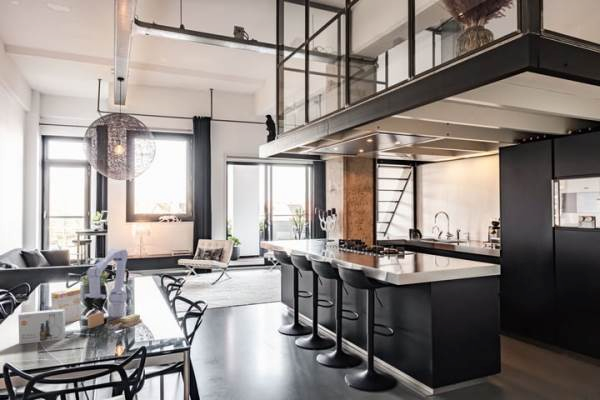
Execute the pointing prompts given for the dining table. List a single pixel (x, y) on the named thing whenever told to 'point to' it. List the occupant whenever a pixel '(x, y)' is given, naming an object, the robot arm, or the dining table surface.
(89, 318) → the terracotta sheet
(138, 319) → the plywood offcut stack
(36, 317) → the skincare box
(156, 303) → the dining table surface
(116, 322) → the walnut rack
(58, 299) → the coffeecake box
